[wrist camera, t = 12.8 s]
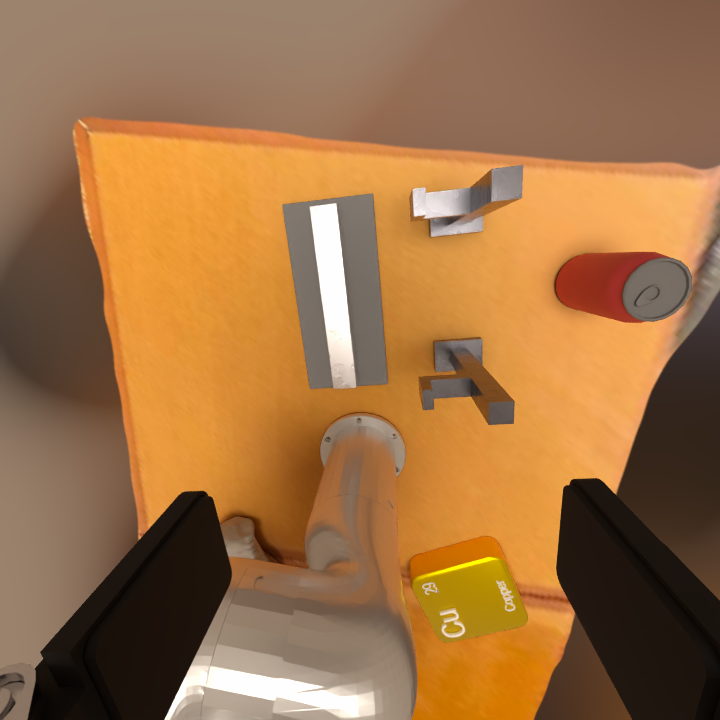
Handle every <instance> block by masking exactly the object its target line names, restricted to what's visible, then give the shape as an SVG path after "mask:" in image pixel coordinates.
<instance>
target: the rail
mask: <svg viewBox="0 0 720 720" xmlns="http://www.w3.org/2000/svg"><path fill="white" fill-rule="evenodd" d="M310 213H311V220H312V228H313V236H314V243H315V251H316V258H317V266H318V274H319V281H320V289H321V296H322V304H323V311H324V319H325V327H326V334H327V342H328V349H329V357H330V365H331V372H332V380H333V387H334V389H343V388H356V387H357V383H358V372H357V362H356V353H355V344H354V335H353V325H352V316H351V307H350V298H349V289H348V279H347V270H346V261H345V252H344V242H343V233H342V224H341V215H340V207H339V206H338V205H337V204H328V205H320V206H312V207H310Z"/></svg>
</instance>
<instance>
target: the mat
mask: <svg viewBox="0 0 720 720" xmlns="http://www.w3.org/2000/svg"><path fill="white" fill-rule="evenodd" d="M328 204H337V205H338V206H339V207H340V215H341V224H342V233H343V242H344V252H345V261H346V270H347V279H348V289H349V298H350V307H351V316H352V325H353V335H354V344H355V353H356V362H357V372H358V383H357V386H364V385H380V384H388V378H387V366H386V353H385V341H384V328H383V315H382V303H381V290H380V277H379V265H378V252H377V239H376V227H375V214H374V201H373V194H365V195H356V196H348V197H340V198H332V199H324V200H316V201H308V202H300V203H292V204H283V205H282V206H283V213H284V219H285V226H286V233H287V239H288V246H289V253H290V259H291V266H292V272H293V279H294V286H295V292H296V299H297V306H298V312H299V319H300V326H301V332H302V339H303V346H304V352H305V359H306V366H307V372H308V379H309V385H310V389H317V388H333V380H332V372H331V365H330V357H329V349H328V342H327V334H326V327H325V319H324V311H323V304H322V296H321V289H320V281H319V274H318V266H317V258H316V251H315V243H314V236H313V228H312V220H311V213H310V207H312V206H320V205H328Z"/></svg>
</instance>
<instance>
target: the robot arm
mask: <svg viewBox="0 0 720 720" xmlns="http://www.w3.org/2000/svg"><path fill="white" fill-rule="evenodd" d="M358 418H360V419H358ZM393 434H394V435H393ZM328 437H330V438H328ZM320 456H321V461H322V464H323V466H324V471H323V475H322V478H321V481H320V485H319V488H318V491H317V495H316V498H315V501H314V505H313V508H312V511H311V515H310V518H309V521H308V525H307V528H306V533H305V544H304V547H305V556H306V561H307V565H308V568H307V569H304V568H299V567H293V566H288V565H283V564H277V563H272V562H266V561H261V560H254V559H248V558H241V557H228V553H227V550H226V546H225V542H224V538H223V534H222V531H221V527H220V523H219V519H218V516H217V512H216V508H215V504H214V501H213V498H212V497H210V496H208V494H207V493H206V492H205V491H188V492H182V493H181V494H180V495H179V496H178V497H177V498H176V499H175V500H174V501H173V503H172V504H171V505H170V506H169V507H168V508H167V509H166V510H165V512H164V513H163V514H162V515H161V516H160V517H159V518H158V520H157V521H156V522H155V523H154V524H153V525H152V526H151V527H150V529H149V530H148V531H147V532H146V533H145V534H144V535H143V537H142V538H141V539H140V540H139V541H138V542H137V544H135V546H134V547H133V548H132V549H131V550H130V551H129V552H128V553H127V555H126V556H125V557H124V558H123V559H122V560H121V561H120V563H119V564H118V565H117V566H116V567H115V568H114V569H113V570H112V572H111V573H110V574H109V575H108V576H107V577H106V578H105V580H104V581H103V582H102V583H101V584H100V585H99V586H98V587H97V589H96V590H95V591H94V592H93V593H92V594H91V595H90V596H89V598H88V599H87V600H86V601H85V602H84V603H83V604H82V606H81V607H80V608H79V609H78V610H77V611H76V612H75V613H74V615H73V616H72V617H71V618H70V619H69V620H68V621H67V623H66V624H65V625H64V626H63V627H62V628H61V629H60V631H59V632H58V633H57V634H56V635H55V636H54V637H53V638H52V639H51V641H50V642H49V643H48V644H47V645H46V646H45V648H44V649H43V650H42V651H41V652H40V653H41V655H42V657H43V658H44V659H43V660H42V661H41V662H40V663H39V665H38V666H37V667H36V668H35V669H34V668H33V667H32V666H31V665H30V664H25V663H18V664H14V665H9V666H6V667H4V668H2V669H0V720H412V716H413V712H414V708H415V704H416V697H417V683H418V678H417V658H416V649H415V643H414V637H413V632H412V627H411V623H410V618H409V614H408V610H407V606H406V601H405V596H404V591H403V586H402V579H401V571H400V561H399V543H398V518H397V493H396V478H397V476H398V475H399V474H400V472H401V471H402V469H403V467H404V463H405V457H406V451H405V444H404V441H403V438H402V436H401V434H400V432H399V431H398V430H397V429H396V428H395V426H394V425H392V424H391V423H390V422H389V421H387V420H385V419H384V418H382V417H380V416H377V415H374V414H369V413H354V414H349V415H346V416H343V417H341V418H339V419H338V420H336V421H335V422H334V423H332V424H331V425H330V426H329V428H328V429H327V430H326V432H325V434H324V436H323V438H322V442H321V445H320ZM556 570H557V576H558V579H559V582H560V585H561V587H562V589H563V590H564V592H565V594H566V596H567V598H568V600H569V602H570V604H571V605H572V607H573V609H574V611H575V613H576V615H577V617H578V619H579V620H580V622H581V624H582V626H583V628H584V630H585V632H586V633H587V635H588V637H589V639H590V641H591V643H592V645H593V647H594V649H595V650H596V652H597V654H598V656H599V658H600V659H601V662H602V664H603V665H604V667H605V669H606V671H607V673H608V675H609V677H610V679H611V680H612V682H613V684H614V686H615V688H616V690H617V692H618V694H619V695H620V697H621V699H622V701H623V703H624V705H625V707H626V709H627V711H628V712H629V714H630V716H631V718H632V720H720V601H719V600H718V598H717V597H716V596H714V594H713V593H712V592H711V591H710V590H709V589H708V588H707V587H706V586H705V585H704V584H703V583H702V582H701V581H700V580H699V579H698V578H697V577H696V576H695V575H694V574H693V573H692V572H691V571H690V570H689V569H688V568H687V567H686V566H685V565H684V564H683V563H682V562H681V561H680V559H679V558H678V557H677V556H676V555H675V554H674V553H673V552H672V551H671V550H670V549H669V548H668V547H667V546H666V545H665V544H663V543H662V542H661V541H660V540H659V539H658V538H657V537H656V536H655V535H654V534H653V533H652V532H651V531H650V530H649V529H648V528H647V527H646V526H645V525H644V524H643V523H642V521H641V520H640V519H638V517H637V516H636V515H635V514H634V513H633V512H632V511H630V509H629V508H628V507H627V506H626V505H625V504H624V503H623V502H622V501H621V500H620V499H619V498H618V497H617V496H616V495H615V494H614V493H613V492H612V491H611V490H610V489H609V487H608V486H607V485H606V484H605V483H604V482H603V481H601V480H600V479H597V478H592V479H573V480H571V482H570V485H566V486H565V487H564V489H563V498H562V509H561V520H560V532H559V543H558V554H557V566H556Z"/></svg>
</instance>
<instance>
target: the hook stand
mask: <svg viewBox="0 0 720 720" xmlns="http://www.w3.org/2000/svg"><path fill="white" fill-rule="evenodd" d="M522 181H523V165H519V166H511V167H503V168H496V169H491V170H490V171H489V172H488V173H487V174H485V175H484V176H483V177H482V178H481V179H480V180H479V181H477V182H476V183H475V184H474V185H473V186H472V187H470V188H463V189H455V190H446V191H438V192H430V193H426V188H425V187H424V188H416V189H412V192H411V195H410V217H411V221H419V220H428V219H429V223H430V237H437V236H446V235H455V234H464V233H474V232H482V231H483V216H484V215H486V214H488V213H490V212H492V211H495V210H497V209H499V208H501V207H503V206H506V205H508V204H510V203H512V202H514V201H516V200H519V199H521V198H522ZM434 361H435V371H436V372H439V371H456V373H457V374H455V375H440V376H424V377H419V394H420V399H421V403H422V407H423V410H432V409H434V399H435V398H452V397H469V396H471V397H472V399H473V400H474V402H475V404H476V405H477V407H478V408H479V410H480V412H481V413H482V415H483V417H484V418H485V420H486V421H487V423H488V425H496V424H514V400H513V399H512V398H511V397H510V396H509V395H508V394H507V392H506V391H505V390H504V389H503V388H502V387H501V386H500V385H499V383H498V382H497V381H496V380H495V379H494V378H493V377H492V376H491V375H490V373H489V372H488V371H487V370H486V369H485V368H484V367H483V366H482V338H480V337H478V338H465V339H452V340H438V341H434Z"/></svg>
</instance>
